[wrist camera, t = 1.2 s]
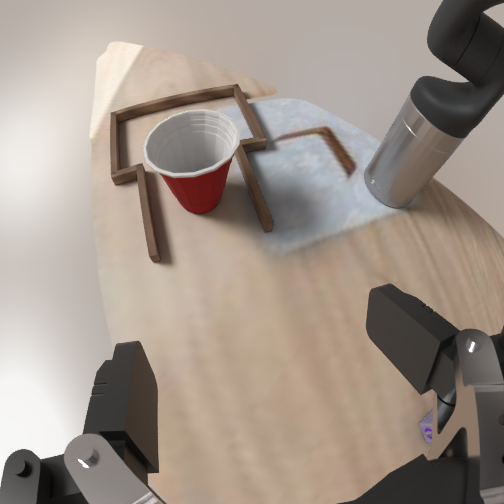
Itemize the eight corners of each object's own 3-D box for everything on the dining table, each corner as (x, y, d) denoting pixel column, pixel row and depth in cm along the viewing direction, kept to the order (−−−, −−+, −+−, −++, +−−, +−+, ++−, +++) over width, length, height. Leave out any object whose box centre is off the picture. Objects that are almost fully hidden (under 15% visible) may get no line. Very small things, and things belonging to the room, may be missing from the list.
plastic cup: (194, 155, 43) (187, 95, 32) (252, 188, 41) (260, 128, 30) (146, 204, 39) (121, 148, 28) (205, 245, 37) (196, 193, 26)
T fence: (237, 92, 50) (237, 84, 48) (299, 223, 40) (302, 216, 38) (113, 120, 45) (110, 112, 44) (124, 270, 35) (119, 265, 33)
